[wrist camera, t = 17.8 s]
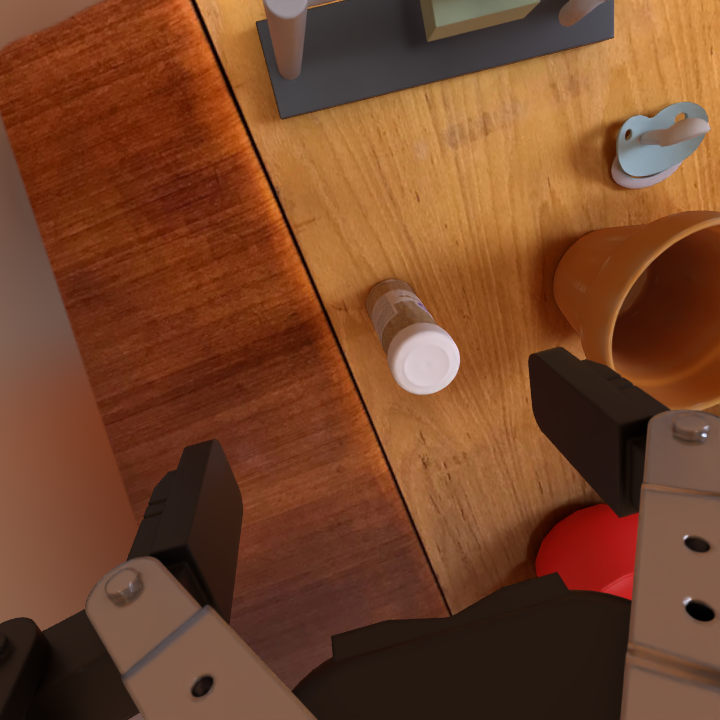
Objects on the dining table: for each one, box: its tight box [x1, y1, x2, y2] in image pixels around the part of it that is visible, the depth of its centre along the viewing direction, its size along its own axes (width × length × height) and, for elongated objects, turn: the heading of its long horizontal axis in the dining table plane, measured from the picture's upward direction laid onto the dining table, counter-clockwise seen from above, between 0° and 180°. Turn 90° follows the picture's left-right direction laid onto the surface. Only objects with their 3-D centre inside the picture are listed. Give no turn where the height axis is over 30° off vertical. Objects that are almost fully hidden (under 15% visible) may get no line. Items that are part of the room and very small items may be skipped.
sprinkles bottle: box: [366, 279, 460, 395], centre depth 38 cm, size 5×4×13 cm
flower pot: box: [553, 211, 720, 411], centre depth 39 cm, size 14×14×13 cm
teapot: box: [535, 503, 639, 600], centre depth 54 cm, size 25×16×12 cm, turn 116°
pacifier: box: [611, 102, 710, 189], centre depth 38 cm, size 7×6×6 cm
